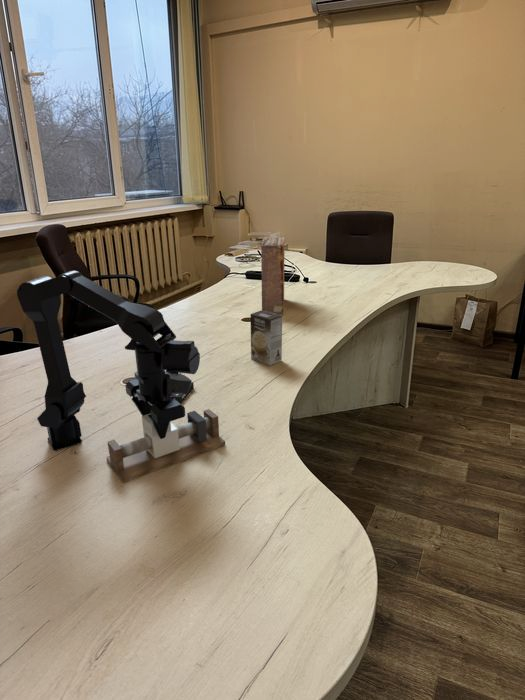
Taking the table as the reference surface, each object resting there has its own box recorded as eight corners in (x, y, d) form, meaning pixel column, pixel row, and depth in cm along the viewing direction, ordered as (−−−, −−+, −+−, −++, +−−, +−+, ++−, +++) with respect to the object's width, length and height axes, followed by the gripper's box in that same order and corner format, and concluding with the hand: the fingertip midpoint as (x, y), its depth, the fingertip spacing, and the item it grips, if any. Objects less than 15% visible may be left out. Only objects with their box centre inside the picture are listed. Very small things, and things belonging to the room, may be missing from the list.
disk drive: (194, 390, 145) (148, 385, 148) (193, 381, 144) (147, 376, 147) (181, 406, 135) (132, 400, 138) (180, 397, 134) (131, 391, 137)
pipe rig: (122, 482, 102) (119, 456, 100) (106, 460, 110) (103, 436, 107) (225, 444, 115) (224, 420, 113) (204, 427, 123) (203, 404, 121)
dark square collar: (199, 442, 114) (197, 422, 112) (188, 432, 118) (187, 412, 116) (206, 439, 115) (205, 419, 113) (195, 430, 119) (194, 410, 117)
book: (265, 299, 236) (264, 236, 225) (284, 299, 235) (284, 236, 224) (261, 314, 212) (261, 245, 201) (283, 314, 212) (283, 245, 201)
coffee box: (249, 359, 165) (249, 313, 159) (262, 353, 169) (262, 309, 164) (270, 366, 159) (269, 319, 153) (282, 360, 164) (283, 314, 158)
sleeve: (154, 458, 108) (151, 425, 105) (145, 447, 112) (141, 416, 109) (179, 449, 111) (176, 417, 108) (169, 439, 115) (166, 408, 112)
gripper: (205, 374, 101) (209, 439, 107) (167, 348, 115) (172, 406, 121) (155, 387, 95) (162, 456, 101) (121, 358, 109) (128, 420, 115)
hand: (157, 432), depth 109 cm, fingers closed on sleeve, 5 cm apart
